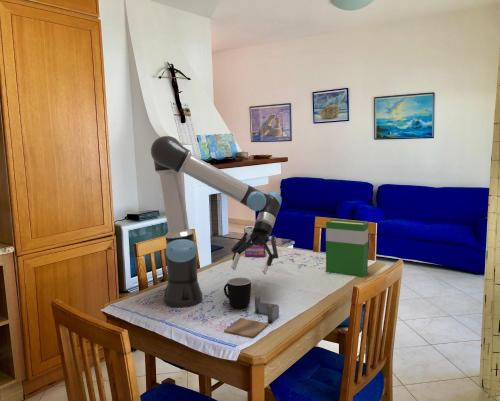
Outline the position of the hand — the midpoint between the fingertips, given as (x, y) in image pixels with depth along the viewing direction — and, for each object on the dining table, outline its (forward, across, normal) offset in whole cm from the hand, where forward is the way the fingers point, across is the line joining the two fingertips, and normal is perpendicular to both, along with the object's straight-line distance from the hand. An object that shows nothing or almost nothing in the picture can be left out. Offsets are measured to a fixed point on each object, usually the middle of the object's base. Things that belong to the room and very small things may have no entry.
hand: (248, 270), depth 174 cm
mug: (+14, +1, -3) cm, 14 cm away
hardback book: (-26, -26, -44) cm, 57 cm away
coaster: (+25, -12, +9) cm, 29 cm away
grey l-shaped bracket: (+17, -13, 0) cm, 21 cm away
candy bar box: (-32, +26, -50) cm, 65 cm away
